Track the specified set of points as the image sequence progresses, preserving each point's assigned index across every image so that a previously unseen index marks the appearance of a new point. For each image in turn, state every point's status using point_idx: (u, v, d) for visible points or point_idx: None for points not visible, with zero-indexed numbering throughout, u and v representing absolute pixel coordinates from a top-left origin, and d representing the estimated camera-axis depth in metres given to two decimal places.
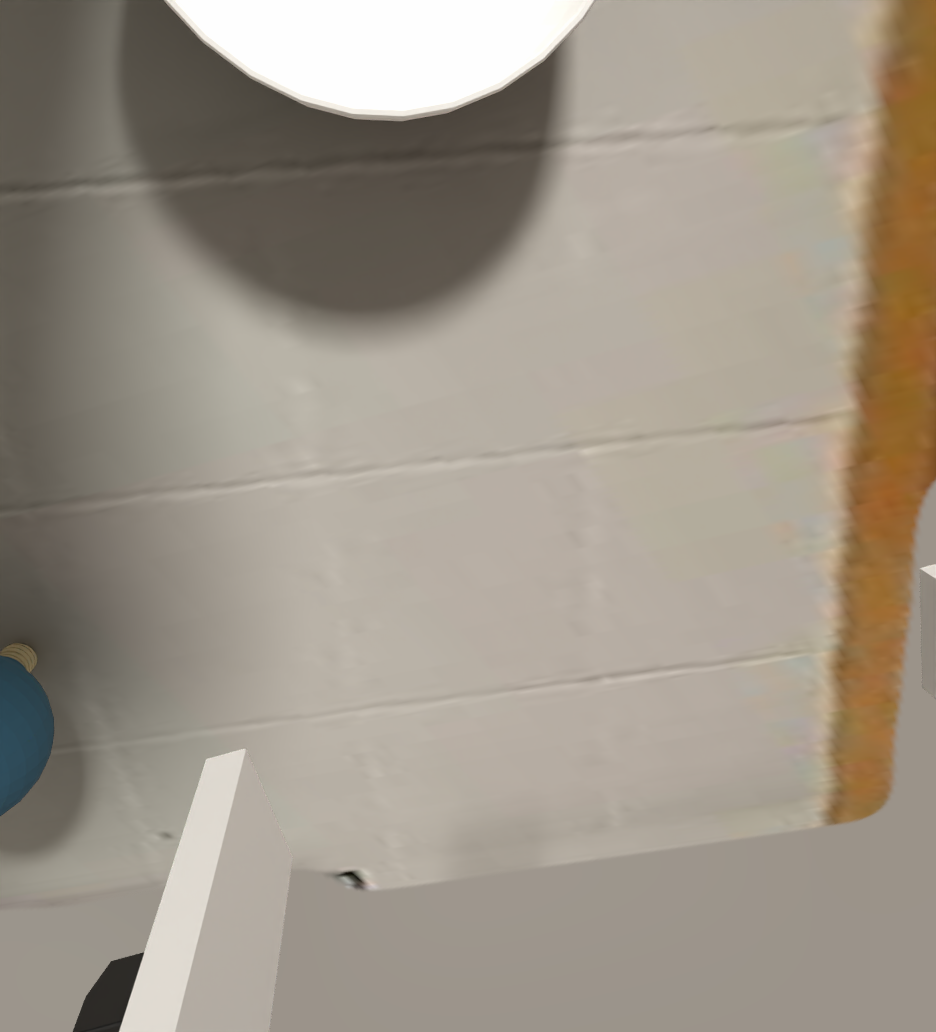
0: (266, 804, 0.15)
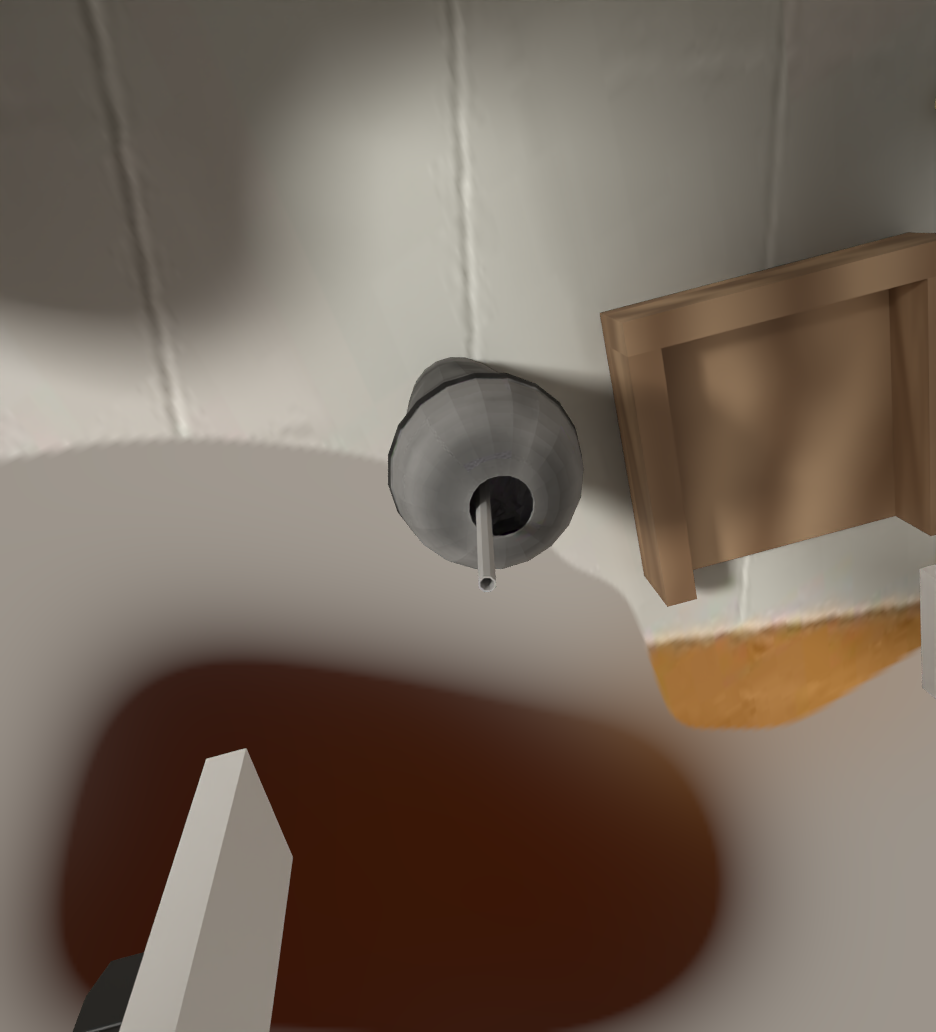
0: (266, 804, 0.15)
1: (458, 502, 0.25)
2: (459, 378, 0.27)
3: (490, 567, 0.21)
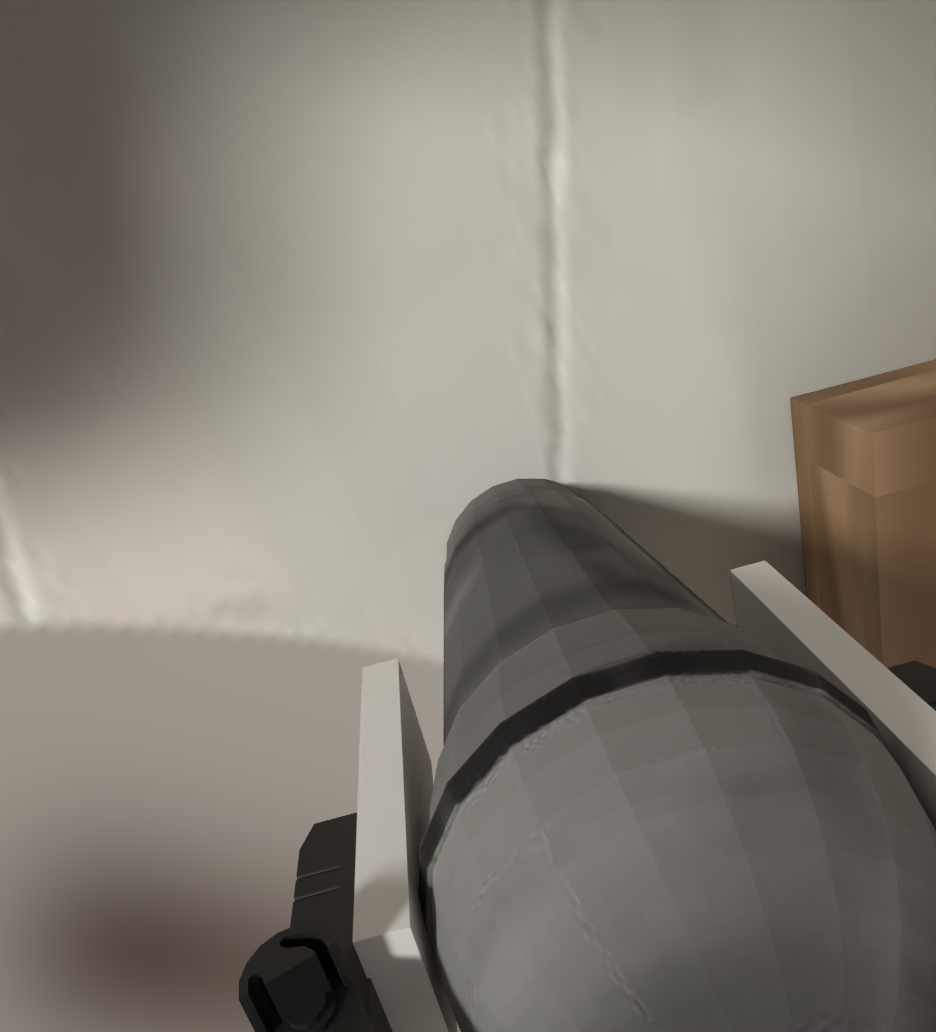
0: (413, 710, 0.16)
1: None
2: (617, 670, 0.10)
3: None
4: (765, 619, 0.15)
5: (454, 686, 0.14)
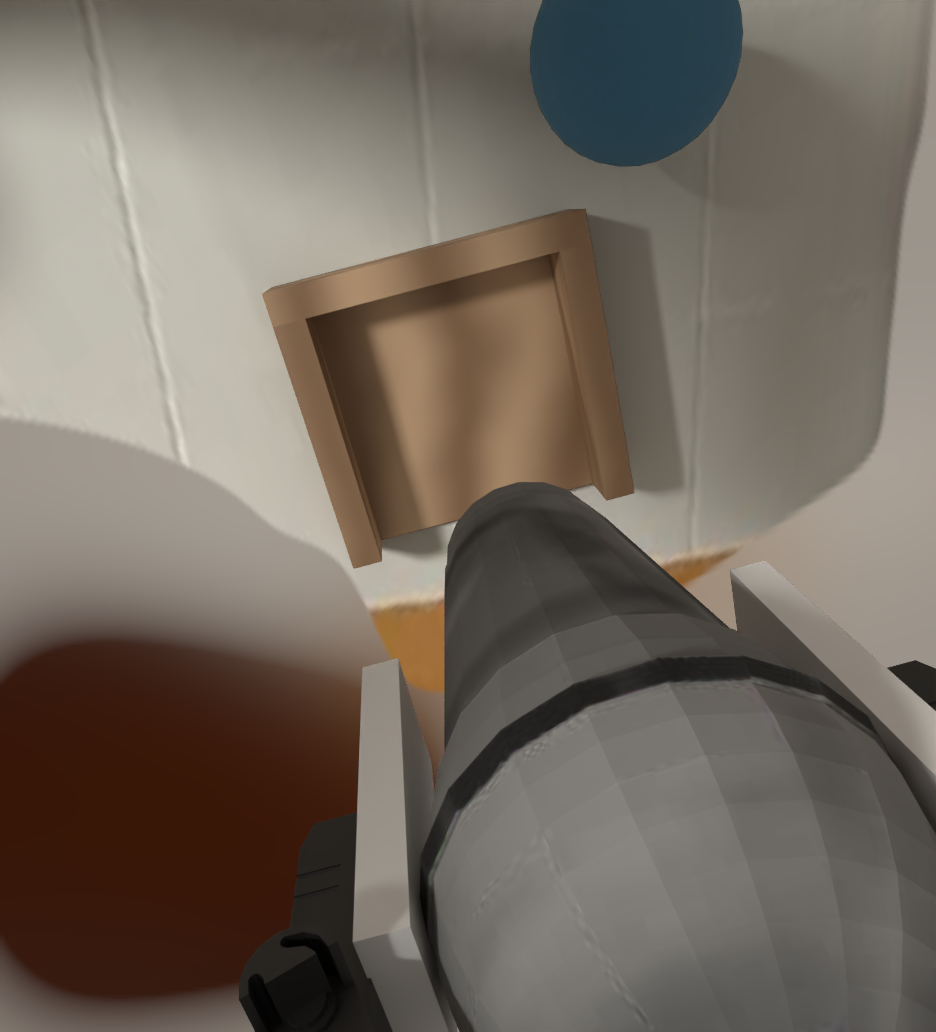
0: (413, 710, 0.16)
1: None
2: (619, 676, 0.10)
3: None
4: (764, 620, 0.15)
5: (455, 691, 0.14)
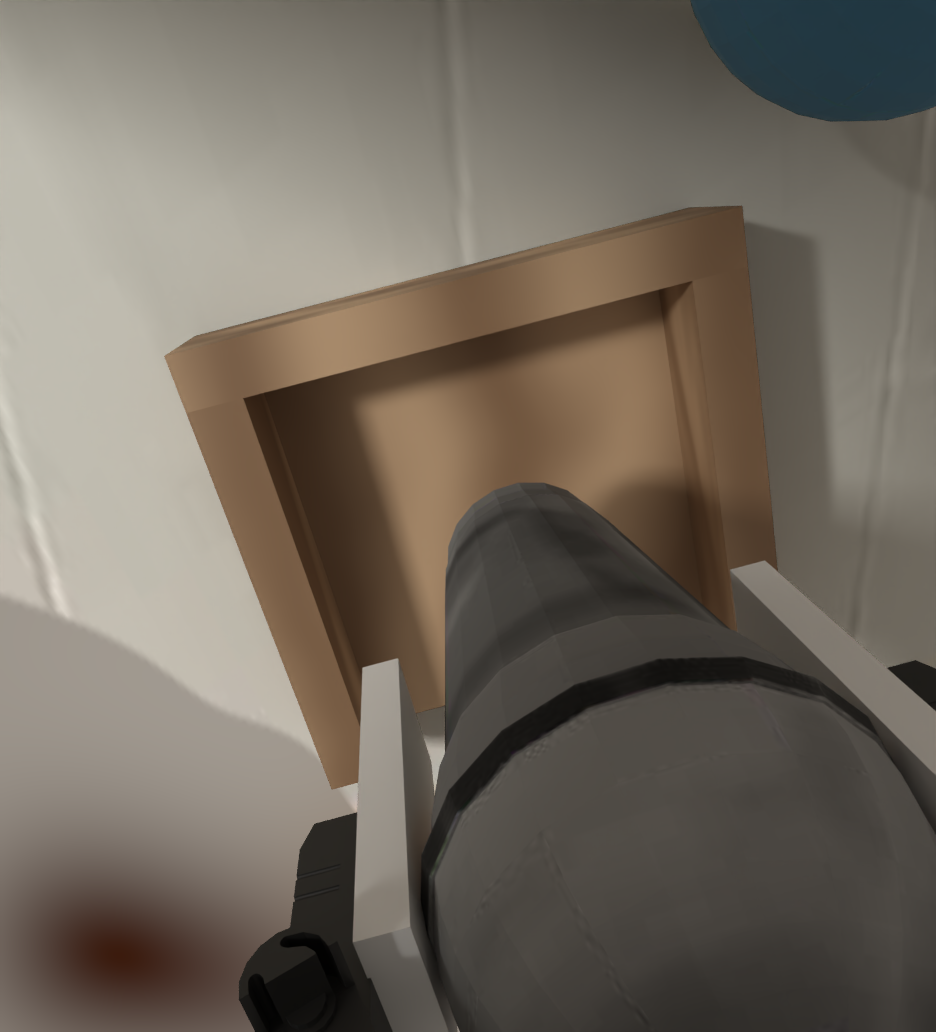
0: (413, 710, 0.16)
1: None
2: (619, 677, 0.10)
3: None
4: (764, 620, 0.15)
5: (455, 691, 0.14)
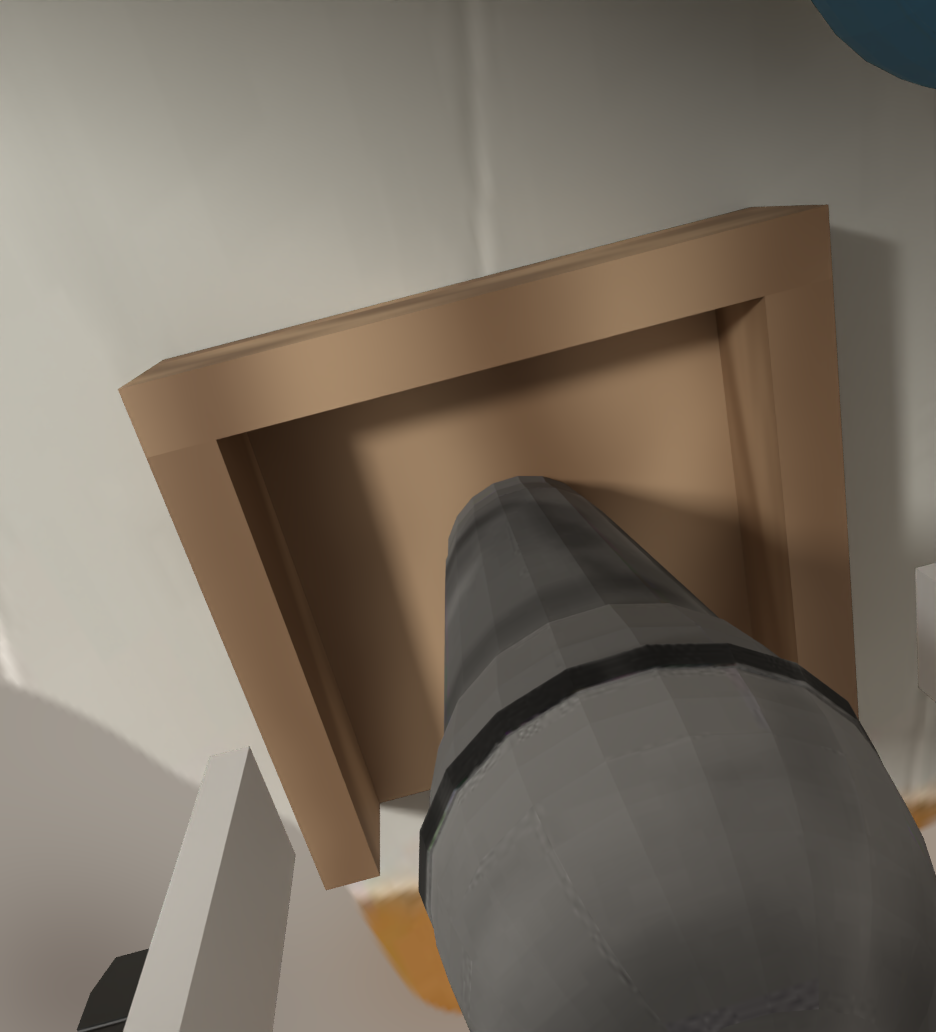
0: (269, 801, 0.15)
1: None
2: (609, 662, 0.10)
3: None
4: None
5: (454, 678, 0.14)
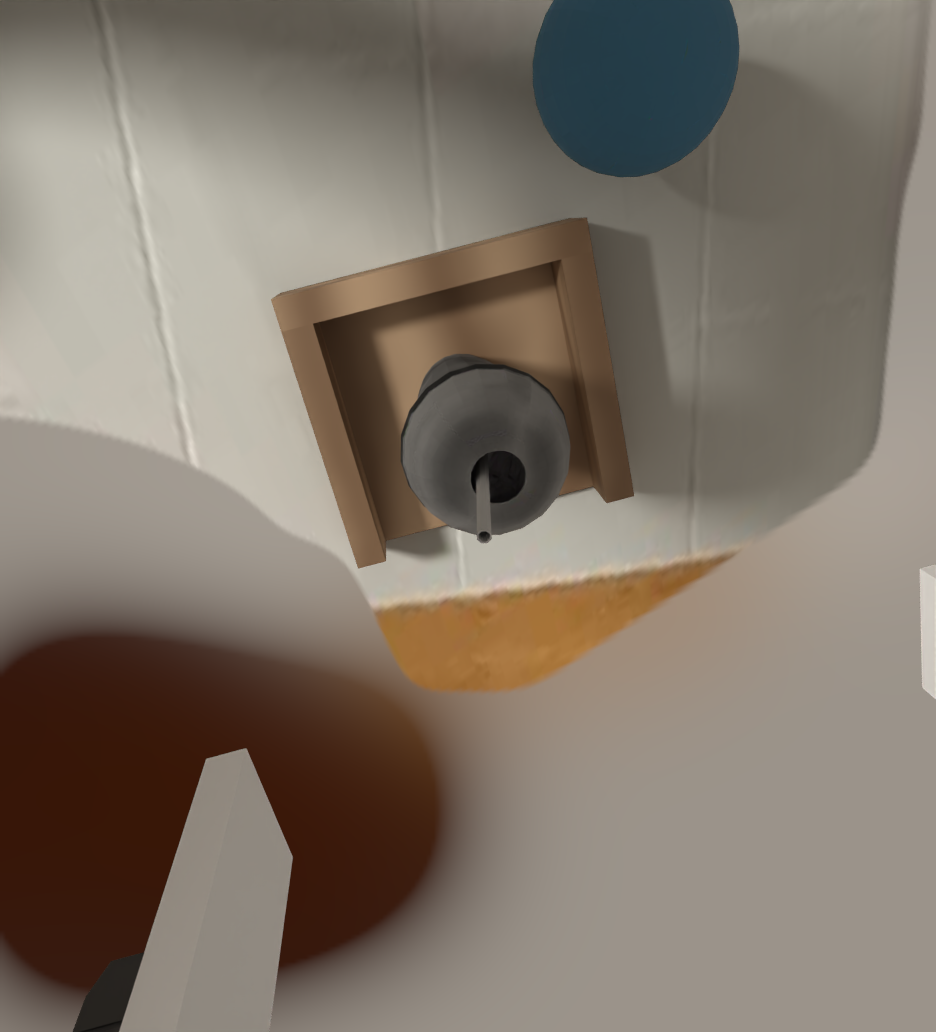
0: (266, 804, 0.15)
1: (461, 473, 0.29)
2: (462, 368, 0.32)
3: (487, 523, 0.26)
4: None
5: None
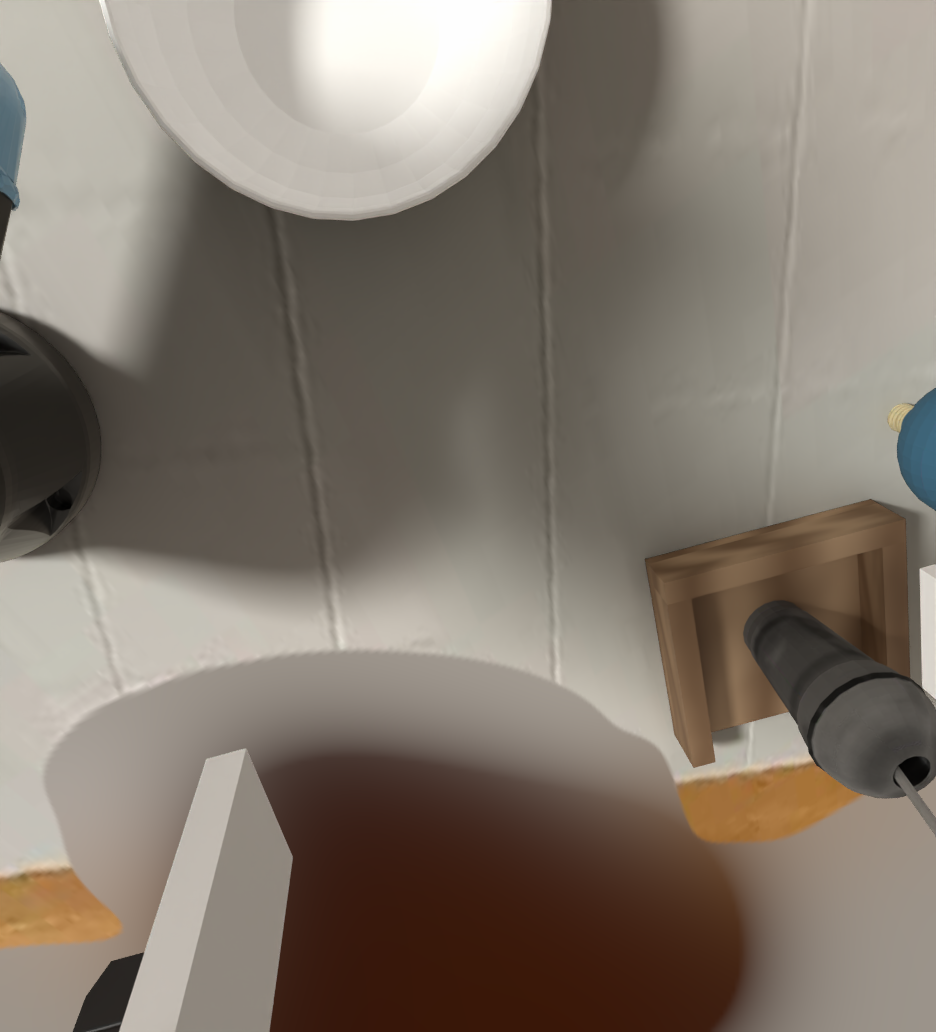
0: (266, 804, 0.15)
1: (886, 770, 0.41)
2: (864, 676, 0.43)
3: None
4: None
5: (795, 680, 0.47)
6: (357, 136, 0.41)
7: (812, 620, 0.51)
